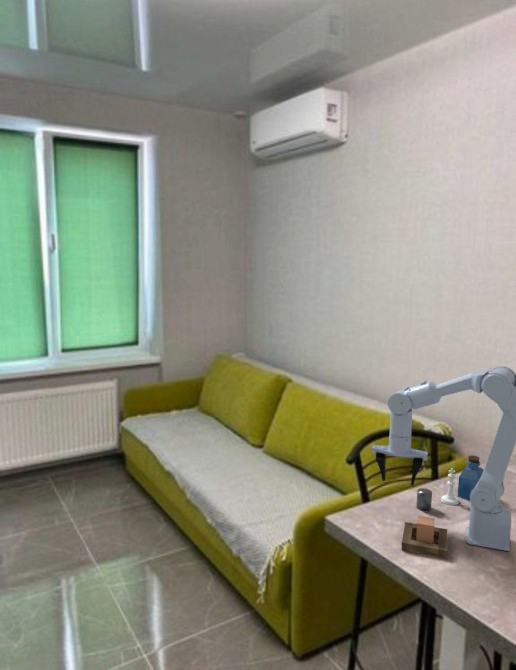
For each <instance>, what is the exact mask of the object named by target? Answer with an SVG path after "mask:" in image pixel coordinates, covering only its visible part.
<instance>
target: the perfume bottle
mask: <svg viewBox="0 0 516 670" xmlns="http://www.w3.org/2000/svg"><path fill="white" fill-rule="evenodd" d="M467 457H468V459H467V460H466V462H467V463H466V464H467V465H466V466H465V467H464V469H463V470H462V472H461V474H460V475H459V477H458V484H457V486H458V487H457V498H462V499H466V500H468V501H470V493H471V491H472V490H473V489H474V488H475V487H476V485H477V483H478V481H479V479H480V478H481V476H482V474H483V471H484V469H483V467H481V466H480V465H481V464H480V463H481V462H480V456H477V455H468V456H467Z"/></svg>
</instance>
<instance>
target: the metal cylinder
mask: <svg viewBox="0 0 516 670" xmlns="http://www.w3.org/2000/svg"><path fill="white" fill-rule="evenodd" d="M432 501H433V491H432V490H431V489H428V488H425V487H424V488H417V491H416V506H415V507H416V509H417V510H419V511H421V512H430V511H432V504H433V503H432Z"/></svg>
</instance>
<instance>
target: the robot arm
mask: <svg viewBox="0 0 516 670" xmlns="http://www.w3.org/2000/svg"><path fill="white" fill-rule="evenodd" d="M469 390H471V391H474V392H475V393H477V394H481V393H483V394H484V395H485V396H486V397H488V398H489V399H490V400H491V401H493V402H494V403H496V404H497V406H498V407H499V409H500V410H501V412H502V416H501V418H500V422H499V424H498V427H497V431H496V434H495V436H494V439H493V442H492V446H491V448H490V451H489V454H488V457H487V460H486V462H485V463H486V464H485V466H484V469H483V474H482V476H481V478H480V479H479V481H478V483H477V485H476V487H475V488H474V489H473V490H472V491H471V493H470V500H469V501H470V511H469V526H467V527H466V528H465V529H466V544H468V545H471V546H472V545H473V546H477V547H482V548H483V547H484V548H488V549H494V550H495V549H496V550H501V551H505V552H509V551H510V543H511V542H510V541H511V530H512V512H511V509H509V508H506V507H503V505H502V503H501V501H500V500H501V498H502V496H503V495H504V493H505V485H504V480H505V477H506V473H507V469H508V466H509V463H510V461H511V457H512V455H513V453H514V452H513V451H514V449H515V446H516V372H515V371H513V369H511V368H510V367H508V366H503V365H501V366H496V367H494V368H493V369H492V370H491V368H484V369H482V370H477V371H474V372H470V373H467V374H465V375H464V374H463V375H462V376H459V377H456V378H453V379H450V380H447V381H445V382H441V383H435V382H433V381H428V382H427V380H423V381H421V382H420V383H419V384H418V385H415V386H412V387H410V386H406V387H403V389H400V390H398V391H397V392H395V393H393V394H392V395H390V397H389V398H388V400H387V407H388V409H389V411H390V417H389V435H388V436H389V437H388V445H376V444H375V445H374V444H373V445H372V446H371V447H372V448H371V455H375V461H376V463H377V465H378V468H379V471H380V474H381V475H380V476H381V481H382V482H385V481H386V475H387V473H386V466H387V465H386V464H387V463H386V462H387V456H390V457H399V458H406V459H412V470H411V471H412V472H411V479H410V481H411V482H410V485H411V486H414V485H415V480H416V478H417V475H418V473H419V471H420V469H421V467H422V466H423V462H427V461H428V451H424V450H419V449H415V448H412V446H411V445H412V428H413V427H412V425H413V409H414V410H418V409H421V408H424V407H428V406H432V405H435V404H439V402H441V399H442V397H445V396H448V395H453V394H457V393H460V392H461V393H462V392H464V391H469Z"/></svg>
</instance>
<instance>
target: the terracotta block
mask: <svg viewBox="0 0 516 670" xmlns="http://www.w3.org/2000/svg"><path fill="white" fill-rule="evenodd" d="M416 524H417V535H415V539H416V540H415V541H420V542H425V543H431V544H434V539H435V538H434V527H435V517H434V518H433V517H429V516H424V515H423V516H421V515H417V522H416Z"/></svg>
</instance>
